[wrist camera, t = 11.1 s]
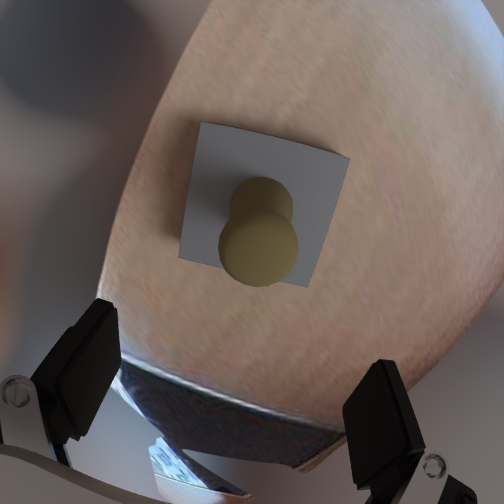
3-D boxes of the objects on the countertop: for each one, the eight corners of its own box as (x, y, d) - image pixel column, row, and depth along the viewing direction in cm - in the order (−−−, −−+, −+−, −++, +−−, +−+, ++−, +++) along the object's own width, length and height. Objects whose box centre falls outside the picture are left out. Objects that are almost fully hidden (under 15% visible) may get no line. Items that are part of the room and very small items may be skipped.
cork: (252, 248, 29) (244, 315, 19) (217, 199, 27) (187, 244, 17) (305, 217, 28) (325, 272, 18) (271, 164, 26) (273, 189, 16)
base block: (209, 122, 28) (201, 121, 24) (340, 154, 29) (350, 158, 25) (187, 243, 34) (178, 257, 30) (303, 270, 34) (307, 287, 31)
